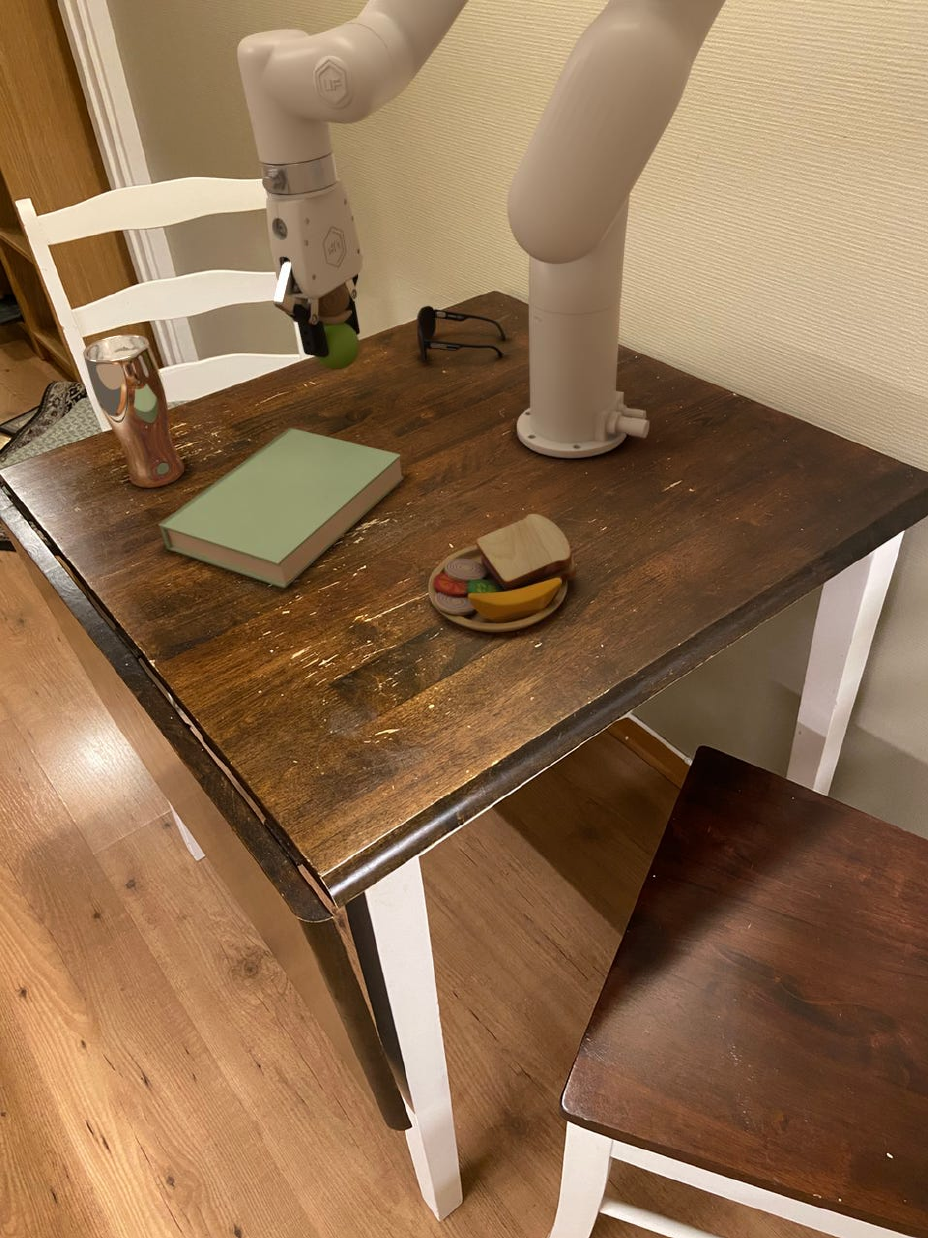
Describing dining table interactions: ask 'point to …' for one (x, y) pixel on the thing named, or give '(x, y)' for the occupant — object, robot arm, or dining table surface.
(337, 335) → the snail figurine
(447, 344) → the sunglasses
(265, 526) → the book
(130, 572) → the dining table surface
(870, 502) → the dining table surface
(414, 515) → the dining table surface
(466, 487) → the dining table surface
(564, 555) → the toy sandwich meal
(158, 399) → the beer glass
